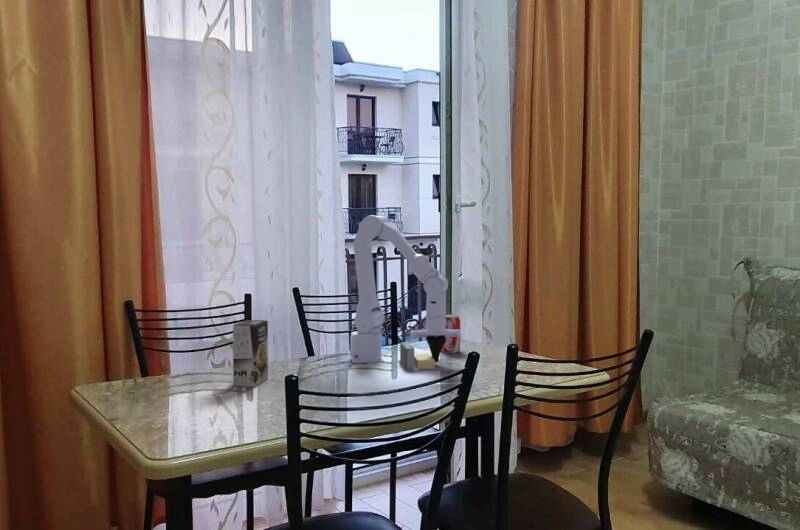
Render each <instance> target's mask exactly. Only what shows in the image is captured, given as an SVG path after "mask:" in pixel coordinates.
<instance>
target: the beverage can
mask: <svg viewBox="0 0 800 530" xmlns="http://www.w3.org/2000/svg"><path fill="white" fill-rule="evenodd" d="M445 329H454V330H458V329H459V330H460V331H461V319H460V317H459V315H458V314H452V313H451V314H446V325H445ZM445 339H446V341H445V344H444V345H443V347H442V350H441V353H442V352H443V353H445V354H456V353H459V352H460V351H461V336H460V337H445Z"/></svg>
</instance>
